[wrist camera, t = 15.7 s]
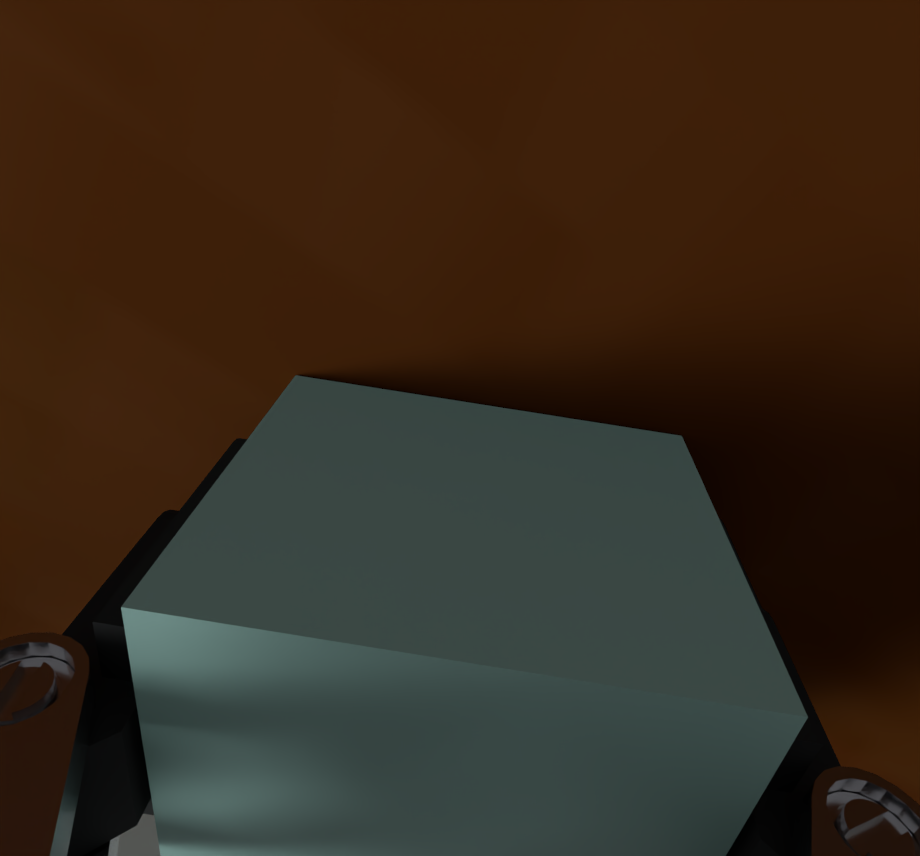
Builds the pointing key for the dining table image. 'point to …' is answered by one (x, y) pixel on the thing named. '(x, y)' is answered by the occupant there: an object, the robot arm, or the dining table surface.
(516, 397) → the dining table surface
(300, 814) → the green block
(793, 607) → the dining table surface
